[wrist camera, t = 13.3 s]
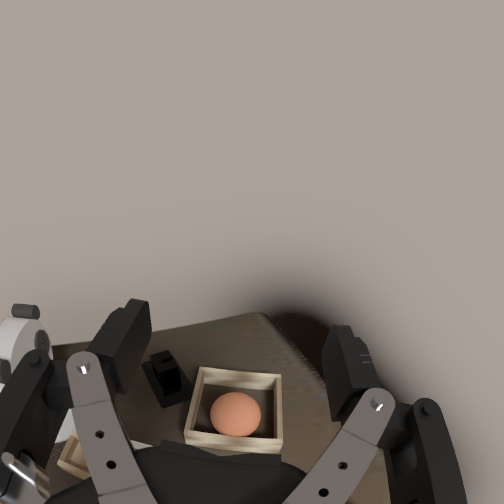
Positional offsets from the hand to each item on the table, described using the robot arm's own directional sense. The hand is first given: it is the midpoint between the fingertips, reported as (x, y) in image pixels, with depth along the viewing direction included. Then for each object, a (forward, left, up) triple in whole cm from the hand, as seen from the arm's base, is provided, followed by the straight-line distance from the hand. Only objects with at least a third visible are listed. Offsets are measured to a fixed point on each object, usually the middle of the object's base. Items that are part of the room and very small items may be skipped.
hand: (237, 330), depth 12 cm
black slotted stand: (-10, +16, -26) cm, 32 cm away
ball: (0, +10, -22) cm, 24 cm away
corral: (0, +12, -25) cm, 28 cm away
